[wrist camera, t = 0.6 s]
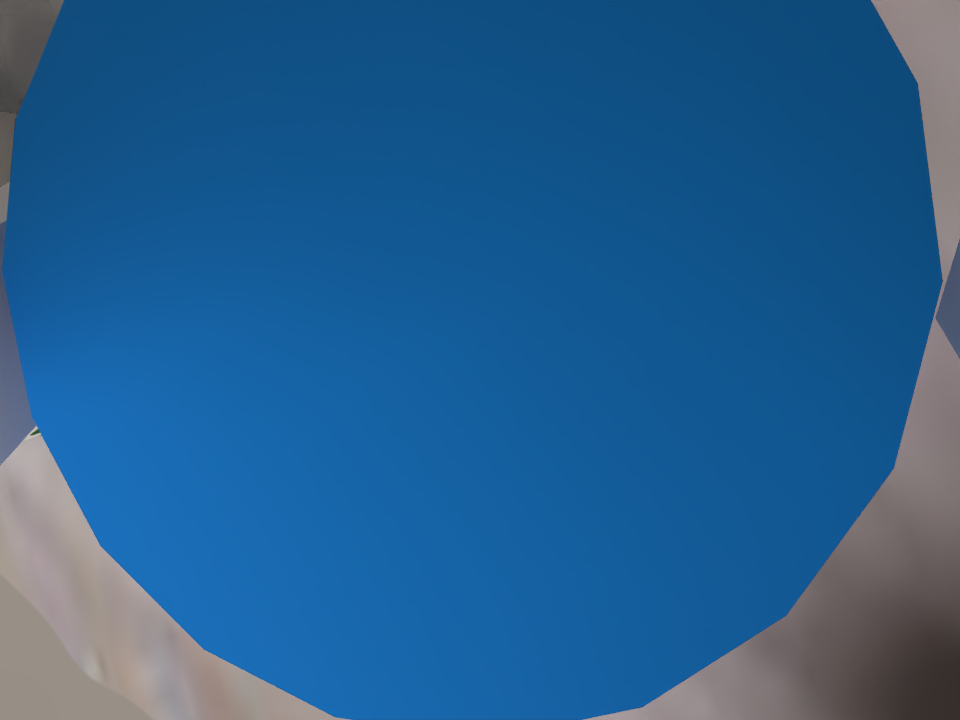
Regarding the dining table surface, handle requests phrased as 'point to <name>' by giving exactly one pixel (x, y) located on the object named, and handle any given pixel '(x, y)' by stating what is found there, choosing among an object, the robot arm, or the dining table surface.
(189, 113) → the thermos
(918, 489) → the dining table surface
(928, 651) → the dining table surface
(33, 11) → the pot
